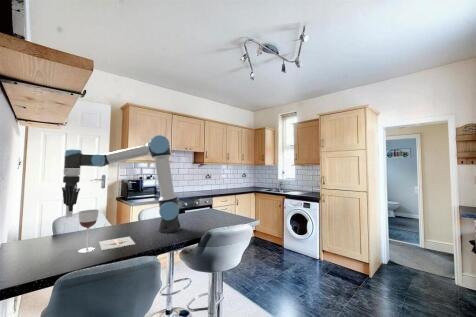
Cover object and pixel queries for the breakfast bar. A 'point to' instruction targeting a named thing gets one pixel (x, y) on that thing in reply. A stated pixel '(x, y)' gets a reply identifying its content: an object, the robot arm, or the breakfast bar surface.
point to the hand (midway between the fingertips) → (68, 216)
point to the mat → (116, 243)
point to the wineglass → (87, 224)
